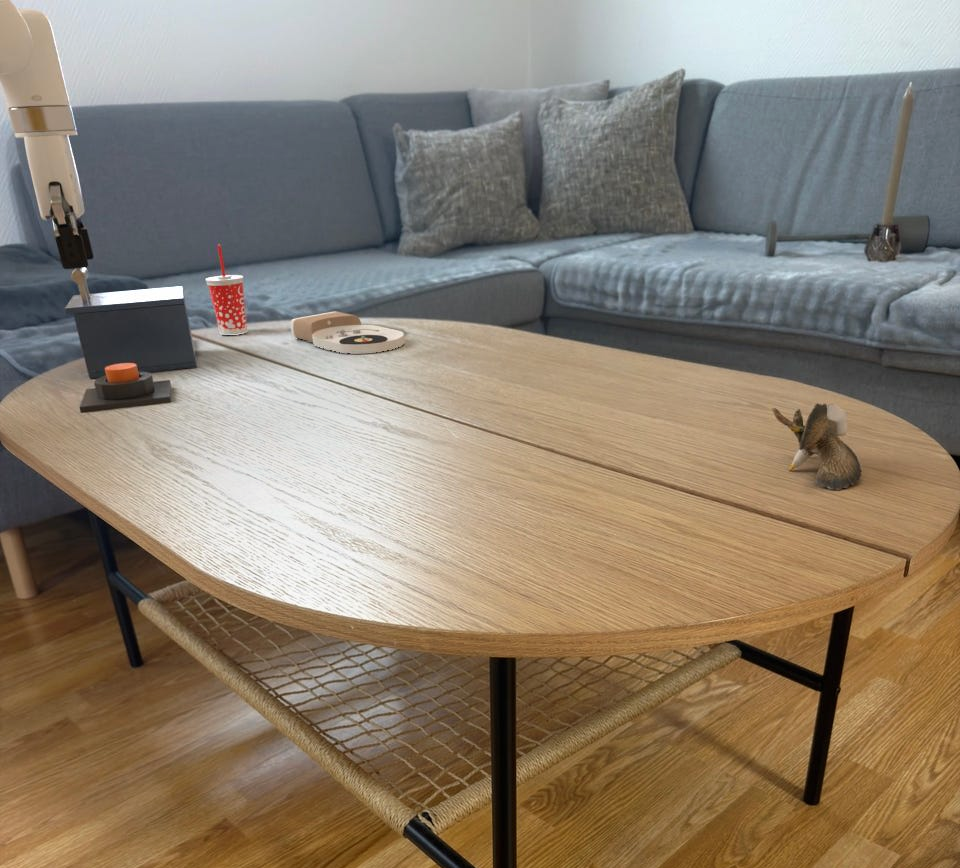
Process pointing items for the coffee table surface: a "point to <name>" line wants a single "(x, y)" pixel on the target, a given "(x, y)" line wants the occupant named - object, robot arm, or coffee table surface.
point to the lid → (119, 297)
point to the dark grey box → (137, 339)
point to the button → (121, 372)
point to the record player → (345, 333)
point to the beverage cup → (228, 301)
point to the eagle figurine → (824, 445)
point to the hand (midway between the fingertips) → (79, 263)
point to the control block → (125, 393)
